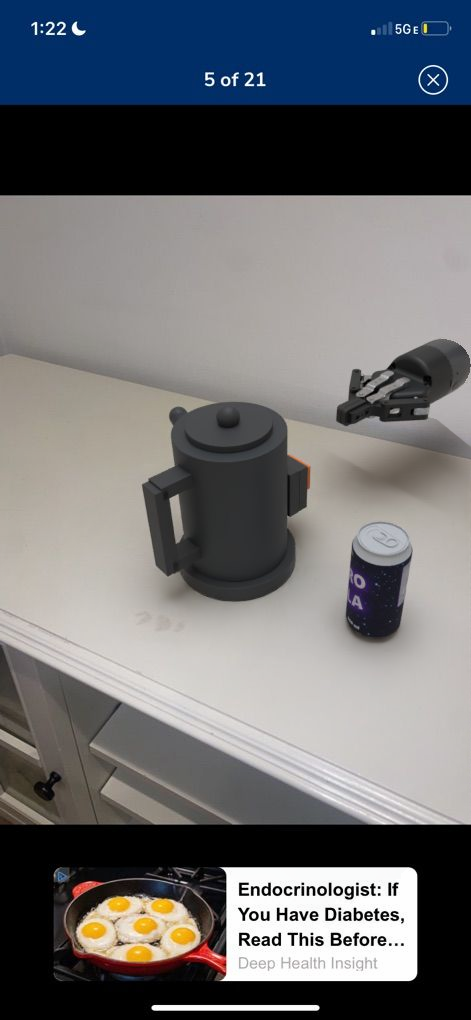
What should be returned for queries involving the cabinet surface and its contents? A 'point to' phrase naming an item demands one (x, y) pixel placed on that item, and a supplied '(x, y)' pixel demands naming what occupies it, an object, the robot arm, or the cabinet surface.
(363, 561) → the beverage can
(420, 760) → the cabinet surface
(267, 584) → the kettle
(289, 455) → the kettle switch
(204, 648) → the cabinet surface
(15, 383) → the cabinet surface
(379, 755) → the cabinet surface
